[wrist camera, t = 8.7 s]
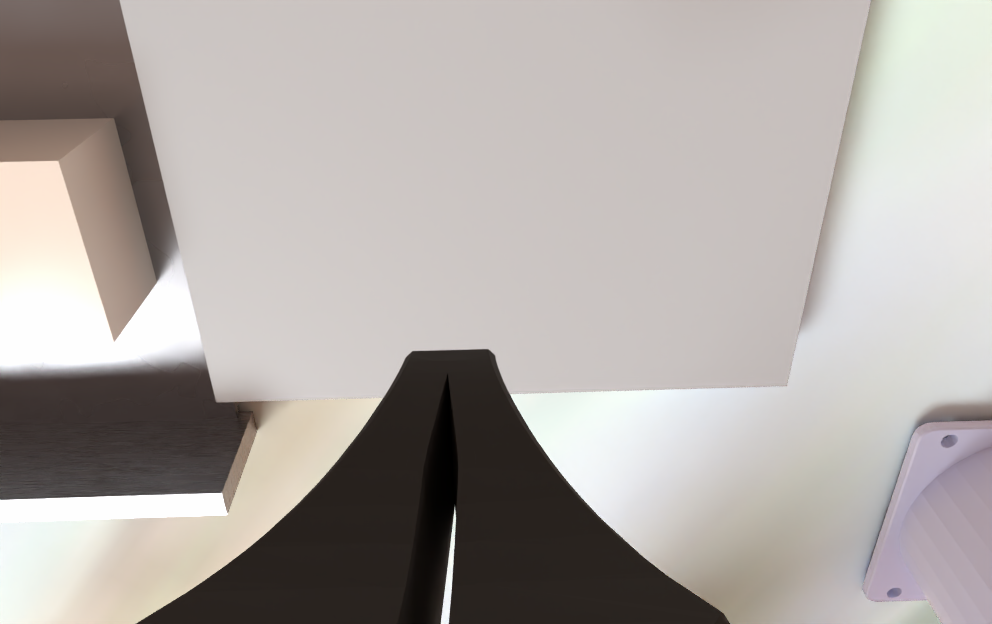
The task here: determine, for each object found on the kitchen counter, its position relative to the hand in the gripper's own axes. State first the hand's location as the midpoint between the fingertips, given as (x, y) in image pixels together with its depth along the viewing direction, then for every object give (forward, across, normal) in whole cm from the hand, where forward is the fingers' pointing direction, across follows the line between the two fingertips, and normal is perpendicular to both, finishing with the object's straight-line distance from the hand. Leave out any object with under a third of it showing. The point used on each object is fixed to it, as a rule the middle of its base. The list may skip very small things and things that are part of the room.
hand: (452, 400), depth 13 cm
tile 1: (+9, +10, 0) cm, 14 cm away
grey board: (+9, -1, 0) cm, 9 cm away
